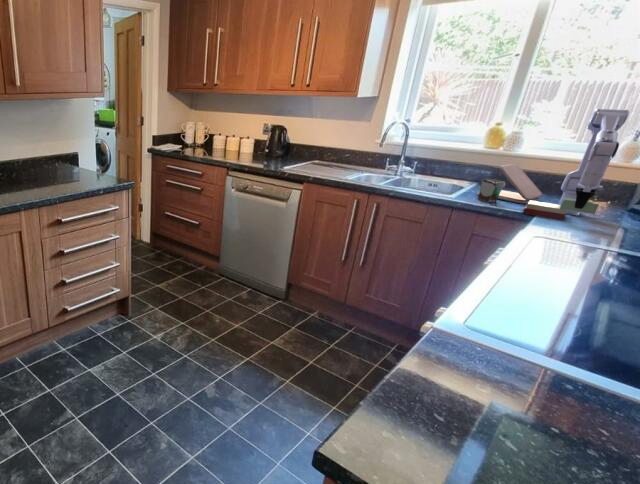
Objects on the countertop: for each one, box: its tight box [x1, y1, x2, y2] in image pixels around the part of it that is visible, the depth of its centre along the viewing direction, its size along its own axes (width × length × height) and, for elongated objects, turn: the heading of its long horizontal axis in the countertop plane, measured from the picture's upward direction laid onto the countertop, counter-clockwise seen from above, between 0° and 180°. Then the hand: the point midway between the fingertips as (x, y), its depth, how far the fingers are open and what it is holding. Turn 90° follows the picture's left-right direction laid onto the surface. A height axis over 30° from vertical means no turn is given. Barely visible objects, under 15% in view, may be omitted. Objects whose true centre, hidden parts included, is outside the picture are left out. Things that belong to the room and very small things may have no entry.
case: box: [476, 163, 543, 204], centre depth 211 cm, size 20×21×16 cm
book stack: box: [522, 200, 567, 221], centre depth 184 cm, size 11×13×4 cm
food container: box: [476, 177, 506, 204], centre depth 203 cm, size 12×6×10 cm, turn 168°
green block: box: [560, 198, 600, 215], centre depth 170 cm, size 5×10×4 cm, turn 44°
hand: (578, 207), depth 171 cm, fingers closed on green block, 5 cm apart
